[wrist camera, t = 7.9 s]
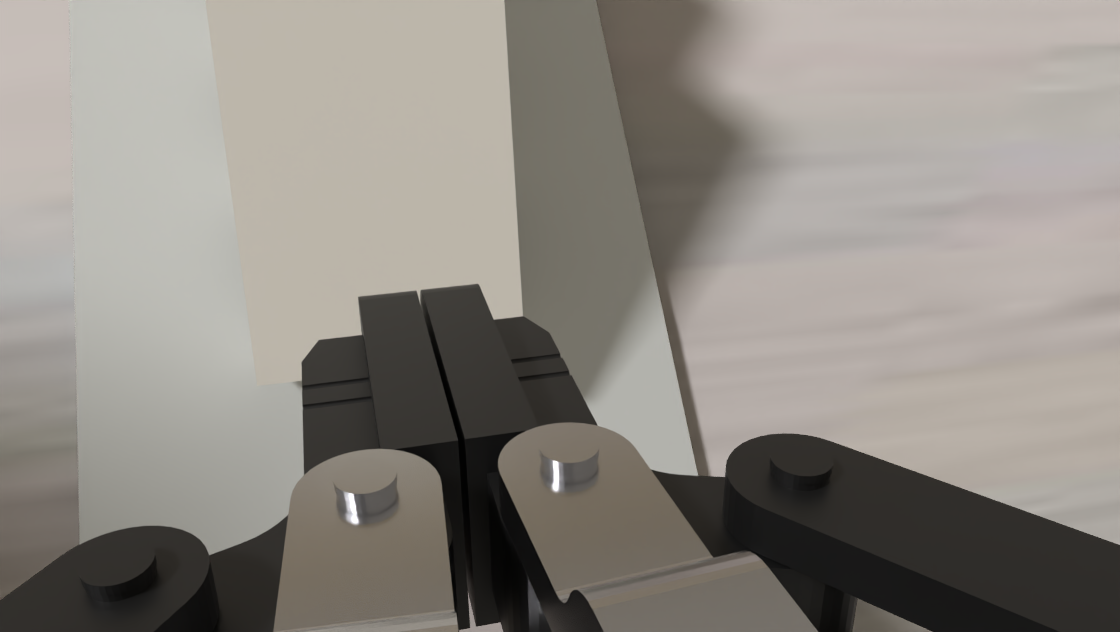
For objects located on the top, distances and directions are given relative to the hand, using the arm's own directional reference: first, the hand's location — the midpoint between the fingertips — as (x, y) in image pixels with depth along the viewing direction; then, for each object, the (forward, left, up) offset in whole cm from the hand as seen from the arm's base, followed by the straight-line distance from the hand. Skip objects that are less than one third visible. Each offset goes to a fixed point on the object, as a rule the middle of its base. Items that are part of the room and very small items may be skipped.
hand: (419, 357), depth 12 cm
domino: (0, +2, -7) cm, 7 cm away
